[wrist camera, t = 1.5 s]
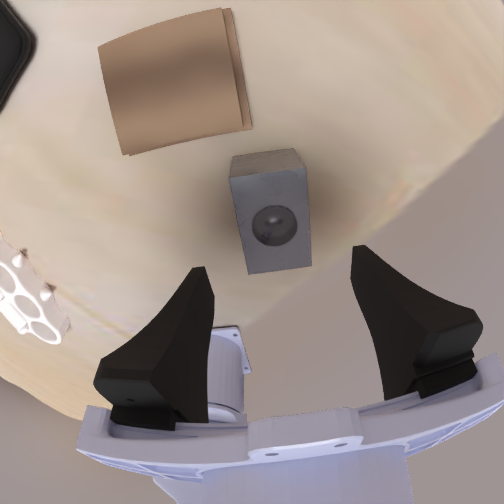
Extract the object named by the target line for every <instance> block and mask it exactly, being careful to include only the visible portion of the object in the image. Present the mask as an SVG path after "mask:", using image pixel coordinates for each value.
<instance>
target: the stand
mask: <svg viewBox="0 0 504 504" xmlns="http://www.w3.org/2000/svg"><path fill="white" fill-rule="evenodd" d="M98 52H99V58H100V63H101V69H102V74H103V79H104V83H105V88H106V93H107V97H108V101H109V105H110V110H111V114H112V118H113V122H114V125H115V129H116V133H117V137H118V140H119V144H120V147H121V151H122V154H123V155H126V154H129V156H132V155H135V154H139V153H143V152H146V151H150V150H154V149H157V148H161V147H165V146H169V145H173V144H177V143H182V142H186V141H191V140H195V139H200V138H205V137H210V136H215V135H220V134H226V133H232V132H237V131H244V130H250V129H252V125H251V119H250V113H249V107H248V101H247V95H246V90H245V84H244V78H243V72H242V67H241V61H240V56H239V50H238V45H237V39H236V34H235V29H234V23H233V18H232V13H231V8H226V9H221V8H217V9H211V10H207V11H202V12H197V13H193V14H189V15H185V16H181V17H178V18H174V19H171V20H167V21H164V22H161V23H157V24H154V25H151V26H148V27H145V28H143V29H140V30H137V31H134V32H132V33H129V34H127V35H124V36H122V37H119V38H117V39H114V40H112V41H110V42H108V43H105V44H103V45H101V46H99V47H98Z"/></svg>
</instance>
